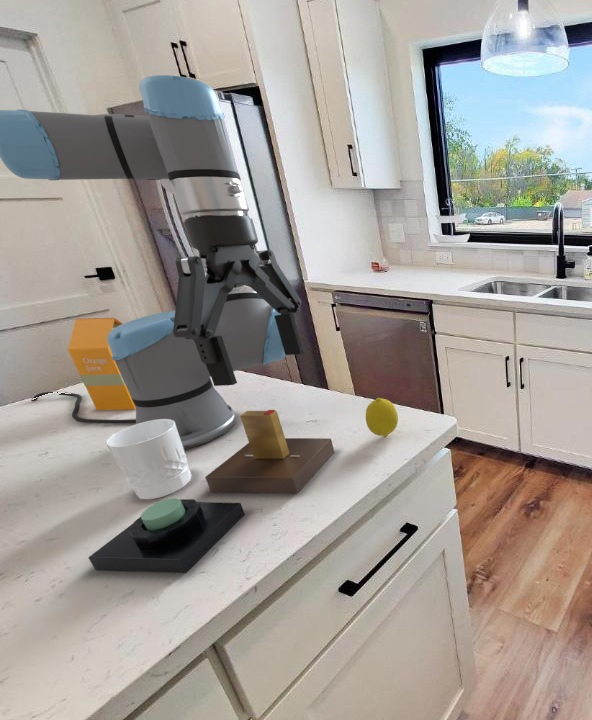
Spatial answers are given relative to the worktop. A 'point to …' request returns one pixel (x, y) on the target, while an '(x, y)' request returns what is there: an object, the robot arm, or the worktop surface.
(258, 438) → the lock turn
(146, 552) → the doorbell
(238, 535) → the worktop surface
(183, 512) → the bell button
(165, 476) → the white cup
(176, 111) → the robot arm
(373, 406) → the lemon
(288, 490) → the plate
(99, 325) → the orange juice
